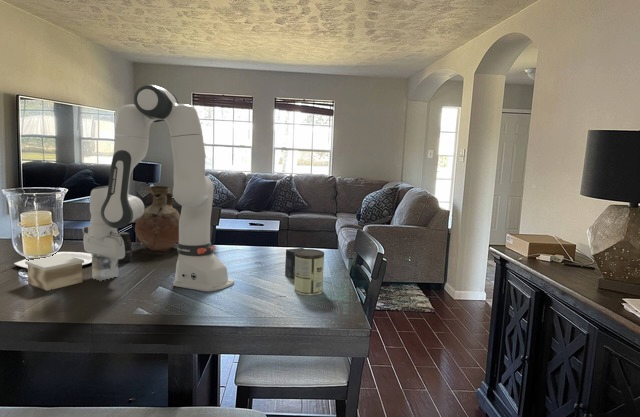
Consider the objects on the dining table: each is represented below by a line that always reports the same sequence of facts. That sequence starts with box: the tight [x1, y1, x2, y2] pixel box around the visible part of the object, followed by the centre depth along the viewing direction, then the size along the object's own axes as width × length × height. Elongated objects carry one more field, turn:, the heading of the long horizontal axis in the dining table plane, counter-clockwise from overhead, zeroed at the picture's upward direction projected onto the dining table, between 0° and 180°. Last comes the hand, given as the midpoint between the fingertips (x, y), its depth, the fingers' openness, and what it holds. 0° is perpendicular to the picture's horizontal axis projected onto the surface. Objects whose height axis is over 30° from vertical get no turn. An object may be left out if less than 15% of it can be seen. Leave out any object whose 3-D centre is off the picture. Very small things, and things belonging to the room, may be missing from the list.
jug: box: [134, 185, 181, 252], centre depth 206 cm, size 22×22×30 cm
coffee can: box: [293, 248, 325, 296], centre depth 153 cm, size 10×10×14 cm
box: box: [284, 247, 305, 279], centre depth 172 cm, size 8×6×11 cm
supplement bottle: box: [118, 231, 133, 264], centre depth 183 cm, size 7×7×12 cm
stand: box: [25, 254, 84, 291], centre depth 152 cm, size 13×13×8 cm
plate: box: [13, 251, 92, 269], centre depth 176 cm, size 27×27×2 cm
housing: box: [91, 255, 119, 282], centre depth 160 cm, size 5×7×8 cm
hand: (104, 267), depth 160 cm, fingers open, 8 cm apart
